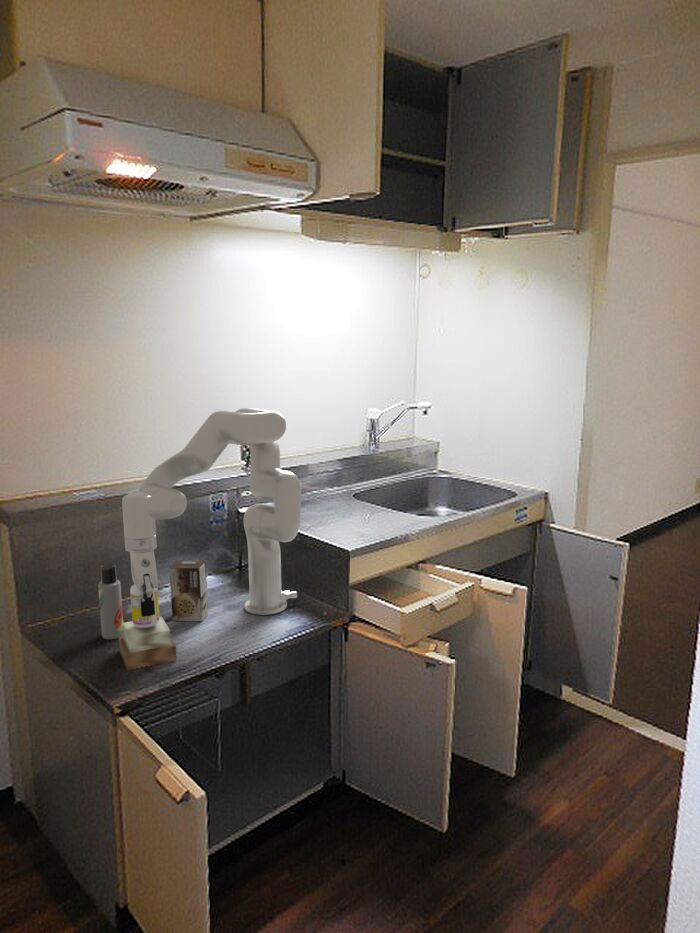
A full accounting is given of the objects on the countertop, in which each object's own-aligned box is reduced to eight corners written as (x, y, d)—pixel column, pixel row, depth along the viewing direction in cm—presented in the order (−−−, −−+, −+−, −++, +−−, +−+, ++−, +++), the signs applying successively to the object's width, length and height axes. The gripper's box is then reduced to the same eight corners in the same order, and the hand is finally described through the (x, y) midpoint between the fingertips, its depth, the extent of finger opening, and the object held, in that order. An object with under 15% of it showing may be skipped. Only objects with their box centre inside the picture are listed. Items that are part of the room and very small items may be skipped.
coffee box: (209, 613, 213) (206, 560, 209) (202, 622, 206) (199, 568, 203) (178, 612, 213) (176, 559, 210) (171, 620, 207) (168, 567, 204)
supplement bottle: (149, 616, 188) (146, 569, 186) (165, 622, 184) (162, 574, 182) (127, 624, 183) (123, 576, 181) (142, 631, 179) (139, 581, 177)
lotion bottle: (128, 632, 200) (123, 562, 196) (116, 640, 194) (111, 569, 190) (110, 630, 201) (104, 561, 197) (97, 638, 196) (92, 567, 192)
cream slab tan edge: (166, 642, 193) (164, 614, 192) (176, 660, 183) (174, 630, 181) (119, 651, 188) (117, 622, 186) (127, 670, 177) (125, 640, 176)
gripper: (163, 549, 173) (167, 619, 177) (149, 531, 189) (153, 596, 192) (131, 554, 170) (136, 625, 174) (119, 535, 186) (124, 601, 189)
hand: (145, 609), depth 183 cm, fingers closed on supplement bottle, 6 cm apart
